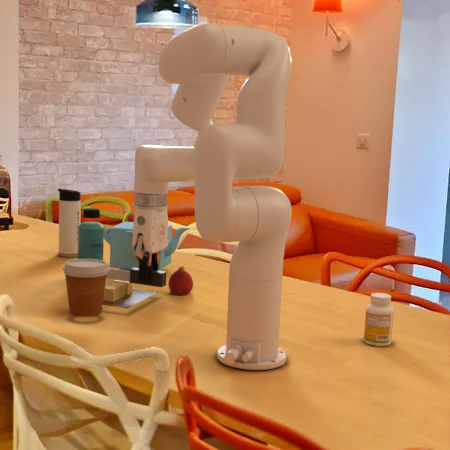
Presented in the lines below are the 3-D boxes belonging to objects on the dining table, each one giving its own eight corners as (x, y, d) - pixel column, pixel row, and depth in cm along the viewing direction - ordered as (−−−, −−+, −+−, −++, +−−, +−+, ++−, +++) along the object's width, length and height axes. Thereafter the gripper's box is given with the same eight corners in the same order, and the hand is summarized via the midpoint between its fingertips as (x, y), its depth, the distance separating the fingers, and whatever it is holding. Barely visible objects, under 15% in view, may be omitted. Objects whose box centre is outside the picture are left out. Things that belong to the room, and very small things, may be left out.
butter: (113, 302, 165) (113, 289, 165) (96, 300, 166) (97, 287, 166) (125, 296, 171) (125, 283, 170) (109, 294, 172) (109, 281, 171)
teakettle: (96, 268, 206) (96, 215, 204) (154, 262, 217) (156, 212, 215) (128, 282, 191) (129, 225, 189) (189, 275, 202) (191, 221, 200)
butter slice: (127, 295, 172) (127, 282, 171) (111, 293, 173) (112, 280, 173) (132, 292, 174) (132, 280, 174) (116, 290, 175) (117, 278, 175)
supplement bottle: (371, 336, 153) (375, 290, 151) (395, 342, 149) (399, 295, 148) (358, 342, 148) (362, 294, 147) (383, 348, 145) (386, 300, 144)
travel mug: (55, 253, 223) (55, 187, 220) (77, 253, 226) (78, 187, 223) (60, 258, 217) (60, 189, 214) (82, 256, 220) (83, 189, 217)
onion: (188, 303, 173) (190, 269, 172) (165, 301, 174) (166, 267, 173) (194, 297, 178) (196, 264, 177) (171, 295, 180) (172, 262, 178)
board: (127, 314, 161) (127, 308, 161) (78, 308, 165) (78, 301, 164) (157, 298, 176) (157, 292, 176) (111, 292, 180) (112, 286, 179)
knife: (166, 285, 169) (166, 271, 168) (161, 287, 167) (162, 273, 166) (106, 276, 174) (107, 263, 173) (102, 279, 171) (102, 265, 171)
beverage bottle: (70, 290, 180) (71, 208, 177) (87, 285, 186) (89, 205, 183) (92, 294, 177) (93, 211, 174) (108, 289, 183) (110, 208, 180)
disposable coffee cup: (63, 325, 151) (64, 268, 149) (61, 313, 160) (61, 258, 158) (110, 324, 153) (112, 267, 152) (105, 311, 162) (106, 258, 161)
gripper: (151, 206, 157) (148, 290, 160) (180, 198, 172) (177, 276, 175) (119, 203, 160) (117, 286, 163) (150, 196, 175) (148, 272, 178)
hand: (148, 280), depth 169 cm, fingers closed on knife, 2 cm apart
